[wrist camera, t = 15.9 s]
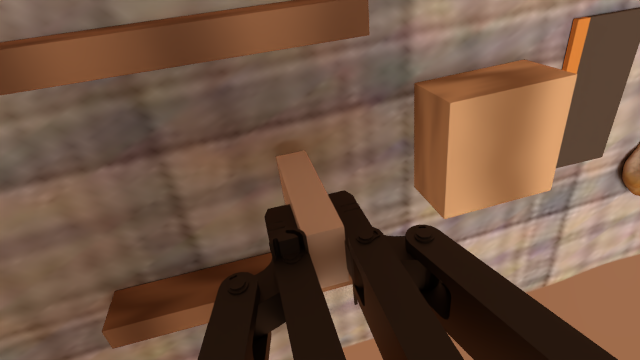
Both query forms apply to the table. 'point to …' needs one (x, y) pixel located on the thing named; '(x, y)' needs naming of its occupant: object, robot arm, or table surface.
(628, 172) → the pastry
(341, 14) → the lane
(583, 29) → the pad
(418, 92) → the block
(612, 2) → the table surface
